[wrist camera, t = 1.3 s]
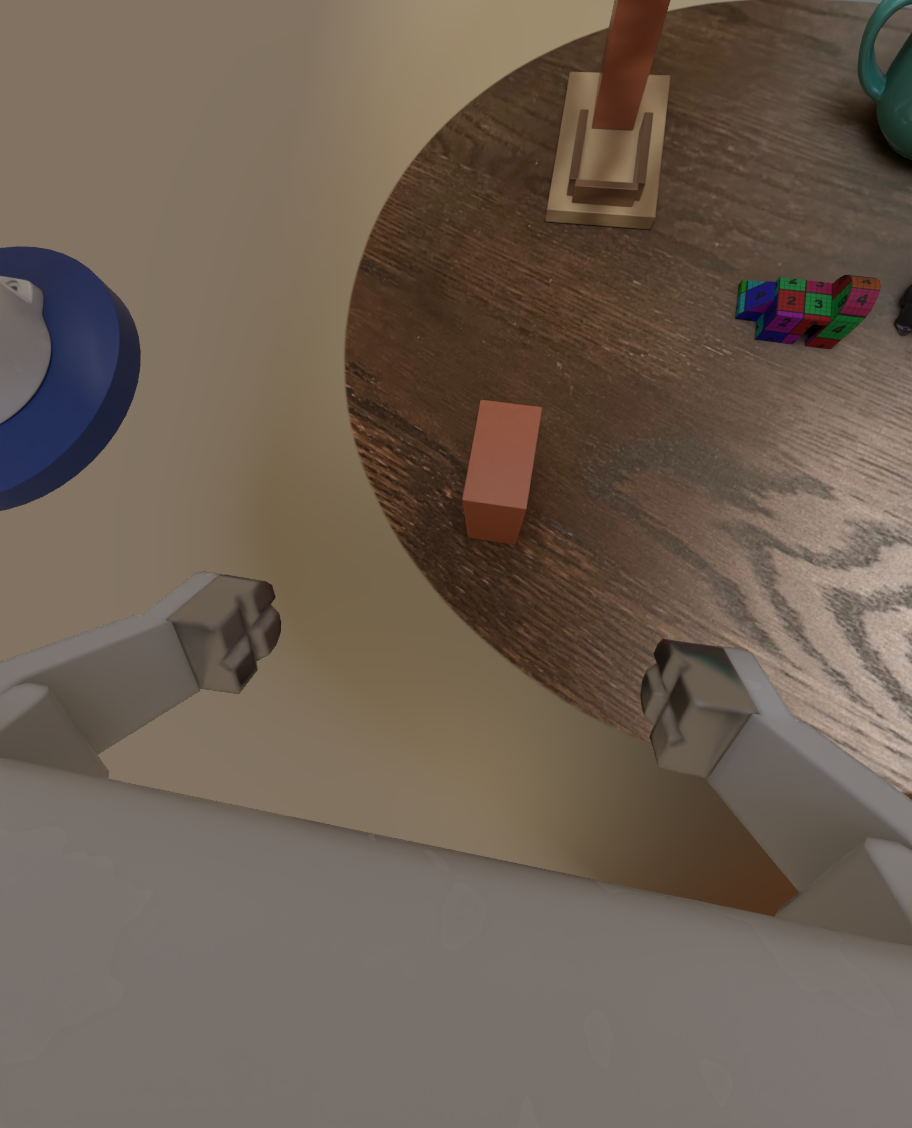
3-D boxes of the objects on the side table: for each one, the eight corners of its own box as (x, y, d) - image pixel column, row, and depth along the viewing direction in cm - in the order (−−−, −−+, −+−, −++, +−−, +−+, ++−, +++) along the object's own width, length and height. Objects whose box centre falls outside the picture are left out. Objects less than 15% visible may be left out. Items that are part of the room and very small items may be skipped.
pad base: (545, 222, 40) (565, 80, 30) (567, 86, 43) (592, -81, 33) (650, 229, 39) (707, 86, 29) (665, 91, 42) (721, -81, 32)
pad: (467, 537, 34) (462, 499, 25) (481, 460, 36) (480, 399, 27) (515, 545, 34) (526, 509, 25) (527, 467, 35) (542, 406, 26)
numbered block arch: (833, 296, 36) (881, 247, 32) (830, 348, 35) (879, 306, 31) (738, 285, 37) (773, 236, 33) (733, 336, 36) (768, 293, 32)
